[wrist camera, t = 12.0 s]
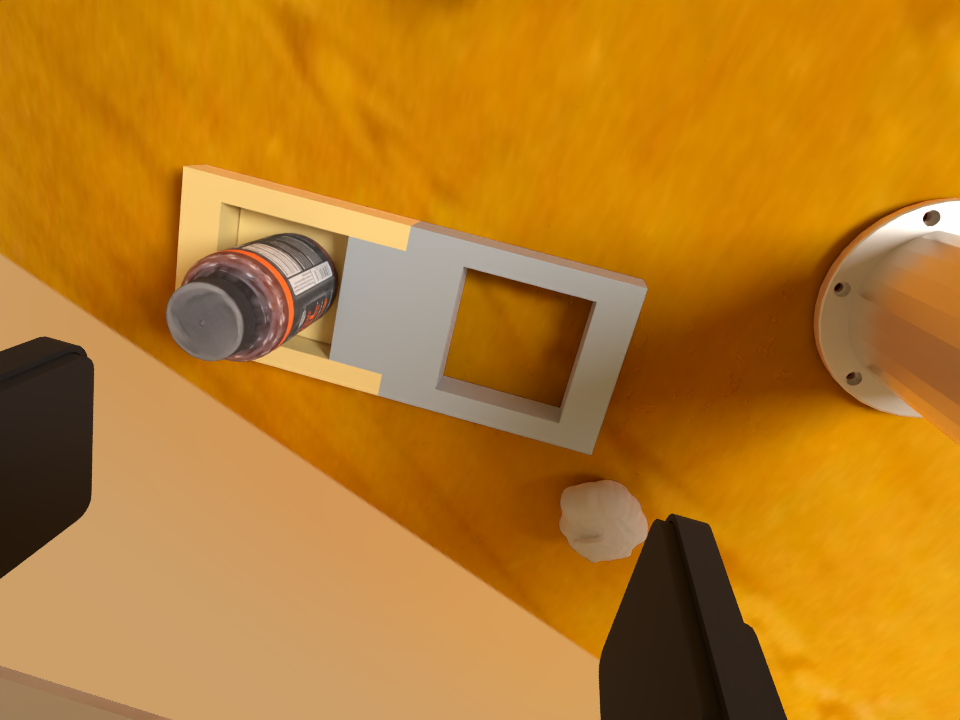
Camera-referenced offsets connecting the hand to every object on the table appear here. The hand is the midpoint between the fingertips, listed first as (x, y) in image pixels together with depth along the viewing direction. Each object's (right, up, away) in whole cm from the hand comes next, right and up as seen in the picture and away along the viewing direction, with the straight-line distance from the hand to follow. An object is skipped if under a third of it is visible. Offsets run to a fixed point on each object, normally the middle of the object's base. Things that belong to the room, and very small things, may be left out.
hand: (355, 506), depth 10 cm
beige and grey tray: (-3, +6, +31) cm, 31 cm away
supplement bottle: (-10, +8, +31) cm, 34 cm away
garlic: (+10, -7, +34) cm, 36 cm away
